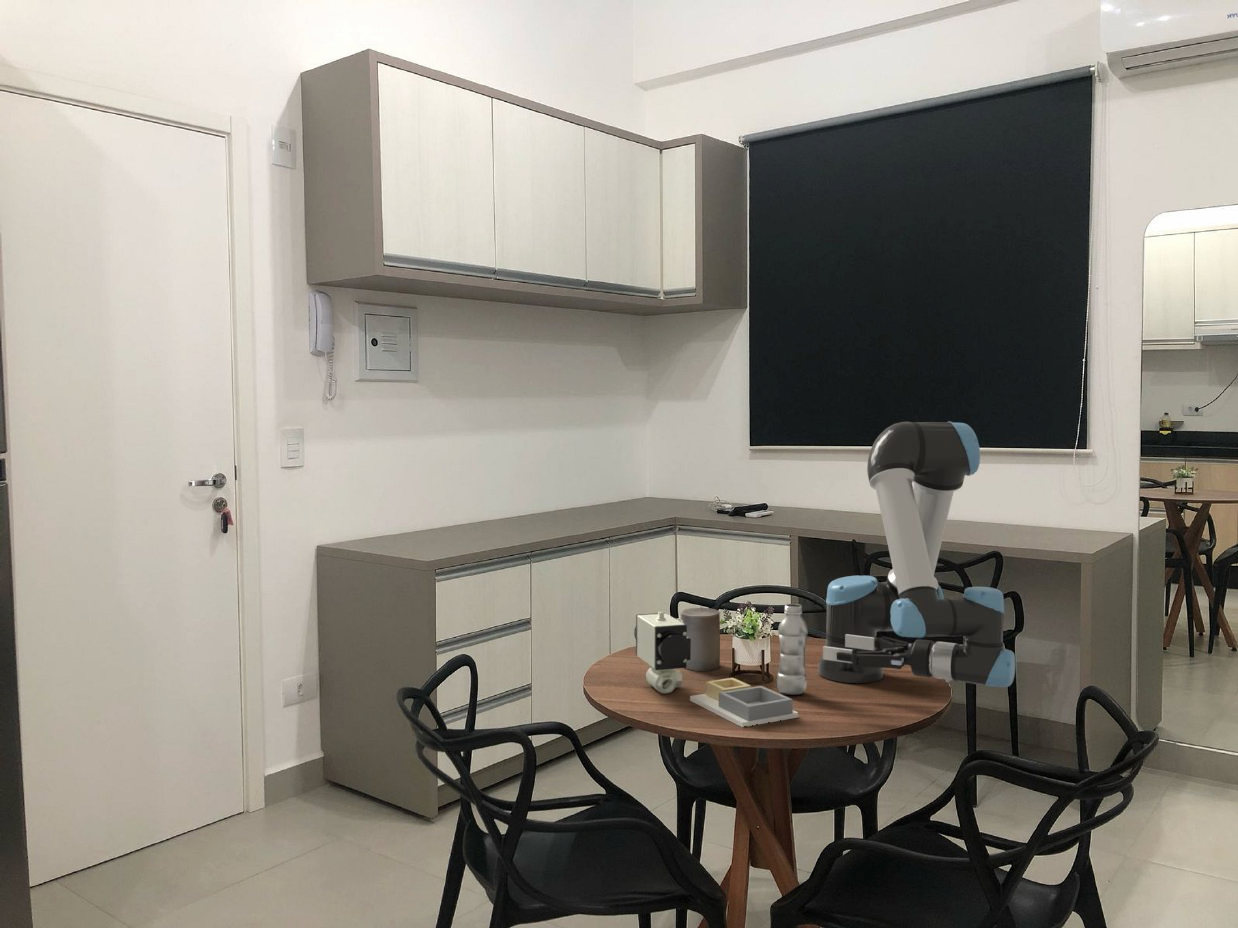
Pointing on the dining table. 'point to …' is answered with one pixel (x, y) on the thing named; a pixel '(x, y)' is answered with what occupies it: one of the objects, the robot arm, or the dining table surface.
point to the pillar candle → (703, 638)
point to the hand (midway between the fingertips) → (834, 646)
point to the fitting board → (745, 702)
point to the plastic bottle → (792, 651)
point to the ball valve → (662, 649)
